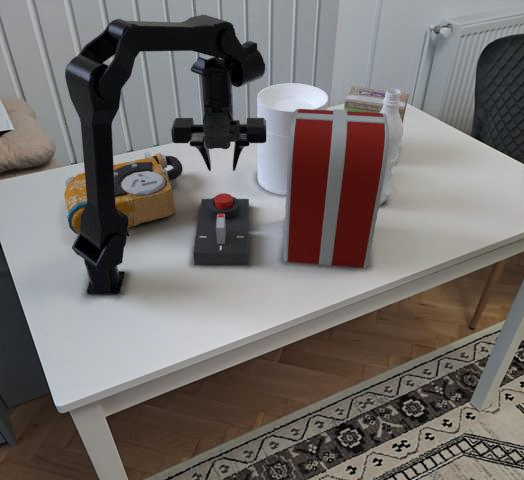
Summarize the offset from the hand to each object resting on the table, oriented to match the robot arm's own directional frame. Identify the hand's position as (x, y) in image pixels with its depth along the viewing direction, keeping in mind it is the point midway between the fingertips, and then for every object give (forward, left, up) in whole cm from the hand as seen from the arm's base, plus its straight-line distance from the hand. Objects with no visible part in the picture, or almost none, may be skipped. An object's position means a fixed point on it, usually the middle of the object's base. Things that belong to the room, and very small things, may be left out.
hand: (222, 170), depth 111 cm
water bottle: (+8, -35, -12) cm, 38 cm away
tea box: (+32, -37, -12) cm, 51 cm away
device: (+6, +23, -12) cm, 26 cm away
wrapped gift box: (-9, -22, -12) cm, 27 cm away
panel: (-12, 0, -12) cm, 17 cm away
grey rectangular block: (-12, 0, -9) cm, 15 cm away
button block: (0, 0, -12) cm, 12 cm away
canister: (+18, -15, -12) cm, 27 cm away
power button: (0, 0, -8) cm, 8 cm away
